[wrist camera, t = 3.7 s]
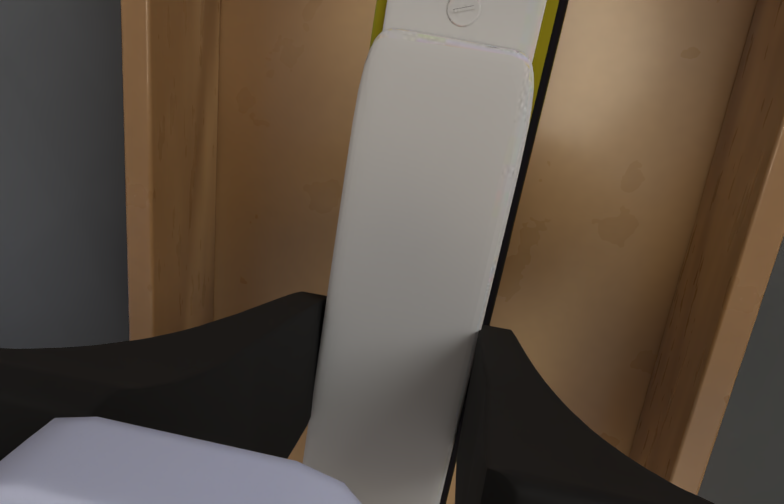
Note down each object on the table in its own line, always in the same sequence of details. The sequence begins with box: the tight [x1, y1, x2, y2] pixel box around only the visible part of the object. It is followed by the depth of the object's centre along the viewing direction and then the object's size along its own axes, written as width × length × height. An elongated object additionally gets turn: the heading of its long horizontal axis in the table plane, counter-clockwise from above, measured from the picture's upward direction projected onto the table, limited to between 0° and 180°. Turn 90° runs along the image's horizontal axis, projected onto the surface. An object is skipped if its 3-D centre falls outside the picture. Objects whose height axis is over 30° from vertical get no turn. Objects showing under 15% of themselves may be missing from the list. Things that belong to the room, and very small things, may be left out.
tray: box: [121, 0, 784, 504], centre depth 15 cm, size 12×19×3 cm, turn 174°
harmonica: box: [303, 0, 569, 504], centre depth 13 cm, size 15×3×2 cm, turn 170°
